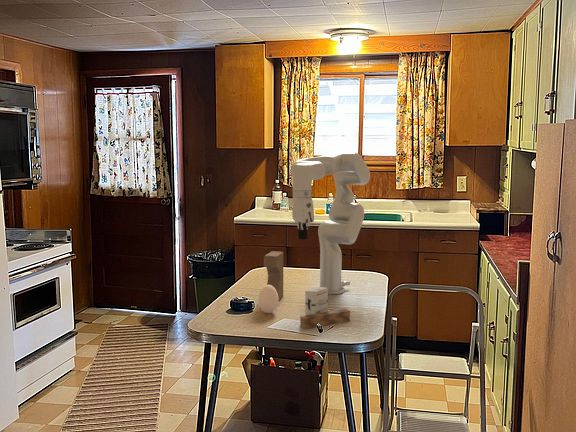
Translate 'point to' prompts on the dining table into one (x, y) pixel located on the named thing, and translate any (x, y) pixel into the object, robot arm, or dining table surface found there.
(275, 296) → the egg
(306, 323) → the board
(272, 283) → the decorative block
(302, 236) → the robot arm
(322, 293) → the ink box
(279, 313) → the dining table surface
